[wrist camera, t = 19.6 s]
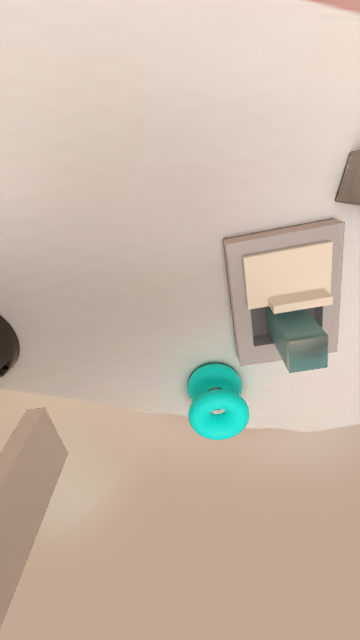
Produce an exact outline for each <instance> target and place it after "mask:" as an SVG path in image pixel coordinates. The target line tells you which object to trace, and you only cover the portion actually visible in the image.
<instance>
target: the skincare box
mask: <svg viewBox="0 0 360 640" xmlns="http://www.w3.org/2000/svg"><path fill="white" fill-rule="evenodd" d="M336 202H341V203H348V204H355V205H360V151H353V152H351V153H350V156H349V159H348V162H347V166H346V169H345V173H344V176H343V179H342V183H341V186H340V189H339V192H338V195H337V198H336Z"/></svg>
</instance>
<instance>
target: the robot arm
mask: <svg viewBox="0 0 360 640" xmlns="http://www.w3.org/2000/svg"><path fill="white" fill-rule="evenodd" d="M18 355H19V343H18V340H17V337H16V335H15V333H14V331H13V329H12V328H11V327H10V325H9V324H8V323H7V322H6V321H5V320H4V319H3V318H2V317H1V316H0V378H1V377H2V376H4V375H5V374H6V373H7V372H8V371H9V370H10V369H11V368H12V366H13V365H14V364H15V362H16V361H17V358H18ZM67 455H68V452H67V450H66V448H65V446H64V444H63V442H62V440H61V439H60V437H59V435H58V433H57V431H56V429H55V427H54V425H53V423H52V421H51V419H50V417H49V415H48V413H47V411H46V409H45V408H37V409H30V410H27V411H26V412H25V414H24V415H23V417H22V419H21V420H20V422H19V423H18V425H17V427H16V428H15V430H14V432H13V433H12V435H11V436H10V438H9V440H8V441H7V443H6V444H5V446H4V448H3V449H2V451H1V452H0V629H1V626H2V624H3V621H4V618H5V616H6V613H7V611H8V608H9V605H10V603H11V600H12V598H13V595H14V592H15V590H16V587H17V585H18V582H19V579H20V577H21V574H22V571H23V569H24V566H25V564H26V561H27V559H28V556H29V553H30V551H31V548H32V546H33V543H34V540H35V538H36V535H37V533H38V530H39V527H40V525H41V522H42V520H43V517H44V515H45V512H46V509H47V507H48V504H49V501H50V499H51V496H52V494H53V491H54V489H55V486H56V483H57V481H58V478H59V476H60V473H61V470H62V468H63V465H64V462H65V460H66V457H67Z"/></svg>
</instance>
